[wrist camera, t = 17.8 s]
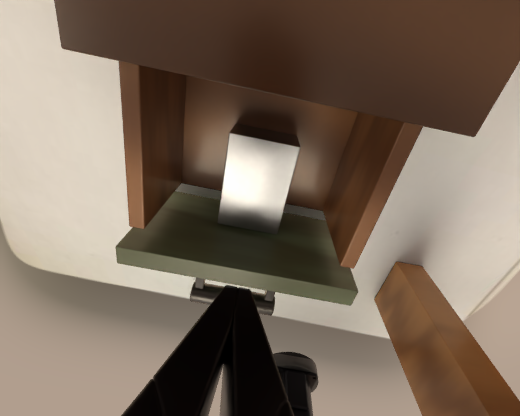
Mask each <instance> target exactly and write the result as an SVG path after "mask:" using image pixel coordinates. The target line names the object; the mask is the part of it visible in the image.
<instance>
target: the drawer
mask: <svg viewBox="0 0 520 416" xmlns="http://www.w3.org/2000/svg"><path fill="white" fill-rule="evenodd" d="M119 71H120V86H121V102H122V117H123V133H124V149H125V164H126V180H127V195H128V211H129V226H131V227H133V228H132V229H131V230H130V231H129V232H128V233H127V234H126V236H125V237H124V238H123V239H122V240H121V241H120V242H119V243H118V245H117V246H116V255H117V263H119V264H125V265H130V266H136V267H141V268H147V269H152V270H158V271H163V272H169V273H174V274H180V275H185V276H191V277H196V281H195V282H194V284H193V287H192V290H191V294H190V301H191V302H197V303H203V304H208V305H210V304H211V303H212V302H213V301H214V299H215V298H216V297H217V296H218V294H219V293H220V292H221V291H222V289H223V288H224V287H223V286H218V285H212V284H207V283H205V279H207V280H213V281H218V282H224V283H229V284H235V285H240V286H246V287H251V288H257V289H262V290H266V291H265V294H262V293H256V292H251V293H252V296H253V298H254V301H255V304H256V307H257V310H258V313H259V314H264V315H270V316H271V315H272V314H273V311H274V305H275V297H274V295H275V292H279V293H284V294H290V295H295V296H301V297H306V298H312V299H317V300H323V301H328V302H334V303H339V304H344V305H351V304H352V303H353V301H354V299H355V297H356V295H357V293H358V289H357V286H356V284H355V281H354V278H353V275H352V272H351V270H350V268H354V267H355V265H356V263H357V261H358V259H359V257H360V255H361V253H362V251H363V249H364V247H365V245H366V243H367V241H368V239H369V236H370V234H371V232H372V230H373V228H374V226H375V224H376V222H377V220H378V218H379V216H380V214H381V212H382V210H383V208H384V206H385V204H386V202H387V199H388V197H389V195H390V193H391V191H392V189H393V187H394V185H395V183H396V181H397V179H398V177H399V175H400V173H401V171H402V169H403V167H404V165H405V162H406V160H407V158H408V156H409V154H410V152H411V150H412V148H413V146H414V144H415V142H416V140H417V138H418V136H419V134H420V132H421V130H422V128H423V126H420V125H415V124H410V123H406V122H401V121H397V120H392V119H387V118H383V117H378V116H373V115H369V114H364V113H359V112H355V111H350V110H345V109H341V108H336V107H331V106H327V105H322V104H317V103H313V102H308V101H303V100H299V99H294V98H289V97H285V96H280V95H276V94H271V93H266V92H262V91H257V90H252V89H248V88H243V87H238V86H234V85H229V84H224V83H220V82H215V81H210V80H206V79H201V78H196V77H192V76H187V75H182V74H178V73H173V72H169V71H164V70H159V69H155V68H150V67H145V66H141V65H136V64H131V63H127V62H122V61H119ZM236 123H238V124H243V125H247V126H252V127H257V128H262V129H267V130H272V131H276V132H281V133H286V134H291V135H296V136H298V140H299V143H300V147H301V148H300V152H299V155H298V159H297V163H296V166H295V170H294V174H293V178H292V181H291V185H290V189H289V192H288V196H287V200H286V203H285V204H290V205H296V206H301V207H306V208H311V209H316V210H321V211H323V213H324V216H325V219H326V221H325V220H320V219H315V218H310V217H305V216H300V215H295V214H289V213H284V212H283V215H282V218H281V222H280V226H279V229H278V233H277V234H271V233H266V232H261V231H255V230H250V229H245V228H240V227H234V226H229V225H224V224H219V223H218V215H219V207H220V200H218V199H213V198H208V197H203V196H197V195H192V194H187V193H182V192H177V191H175V190H176V189H177V188H178V186H179V185H180V184H181V183H184V184H189V185H194V186H199V187H204V188H209V189H214V190H219V191H222V184H223V177H224V169H225V161H226V154H227V146H228V138H229V133H230V131H231V130H232V128H233V127H234V125H235V124H236Z"/></svg>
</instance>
